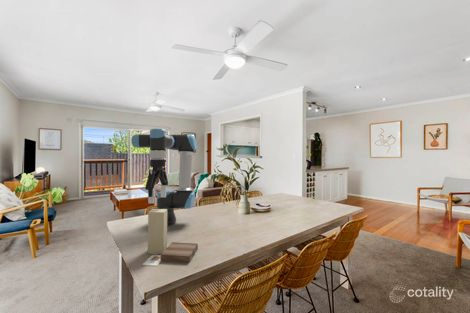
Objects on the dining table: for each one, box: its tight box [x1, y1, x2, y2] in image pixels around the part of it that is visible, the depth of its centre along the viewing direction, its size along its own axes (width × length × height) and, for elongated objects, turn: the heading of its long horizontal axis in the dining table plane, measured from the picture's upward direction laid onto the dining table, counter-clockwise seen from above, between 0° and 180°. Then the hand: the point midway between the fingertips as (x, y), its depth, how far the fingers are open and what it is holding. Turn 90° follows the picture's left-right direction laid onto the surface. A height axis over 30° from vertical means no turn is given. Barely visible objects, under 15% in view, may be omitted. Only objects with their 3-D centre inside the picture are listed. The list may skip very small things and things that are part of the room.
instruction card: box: [141, 254, 162, 267], centre depth 100 cm, size 9×7×1 cm
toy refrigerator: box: [147, 208, 168, 255], centre depth 110 cm, size 8×7×21 cm
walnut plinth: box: [159, 241, 199, 264], centre depth 106 cm, size 14×14×3 cm
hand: (157, 200), depth 110 cm, fingers open, 13 cm apart
